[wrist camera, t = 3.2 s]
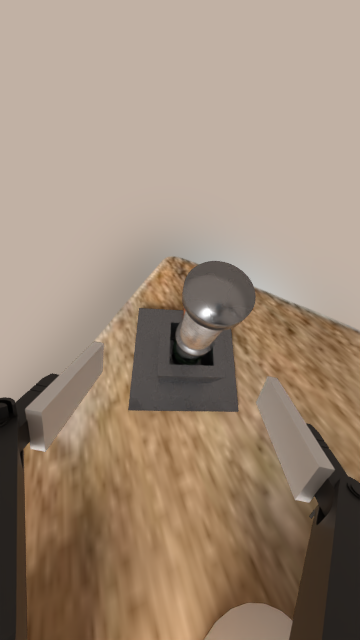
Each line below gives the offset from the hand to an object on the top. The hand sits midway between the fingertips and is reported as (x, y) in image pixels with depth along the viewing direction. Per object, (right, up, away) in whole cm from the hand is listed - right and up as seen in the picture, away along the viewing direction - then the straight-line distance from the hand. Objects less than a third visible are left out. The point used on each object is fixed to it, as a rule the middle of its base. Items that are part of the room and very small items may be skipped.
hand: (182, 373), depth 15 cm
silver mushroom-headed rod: (+1, -2, +19) cm, 19 cm away
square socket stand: (0, -3, +21) cm, 21 cm away
